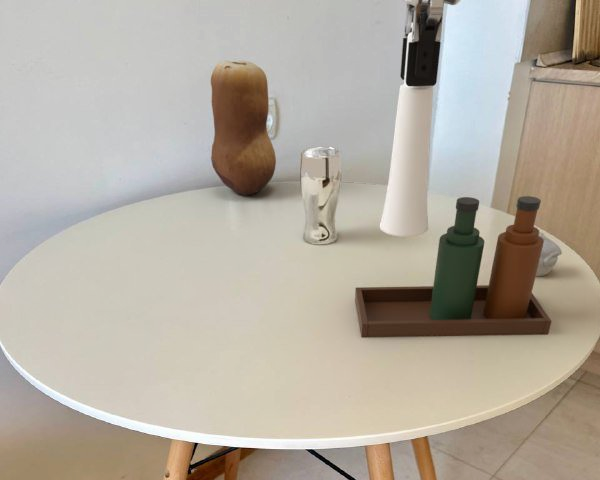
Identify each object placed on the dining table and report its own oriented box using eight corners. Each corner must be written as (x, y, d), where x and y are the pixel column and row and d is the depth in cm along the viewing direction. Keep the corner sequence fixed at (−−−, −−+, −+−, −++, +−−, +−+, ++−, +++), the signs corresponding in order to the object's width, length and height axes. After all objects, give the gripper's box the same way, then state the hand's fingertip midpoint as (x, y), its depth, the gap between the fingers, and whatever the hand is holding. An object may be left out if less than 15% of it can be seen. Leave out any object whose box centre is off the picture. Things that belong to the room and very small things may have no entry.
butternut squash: (289, 190, 130) (285, 59, 115) (247, 206, 121) (238, 68, 106) (243, 178, 137) (234, 54, 122) (201, 193, 129) (185, 62, 114)
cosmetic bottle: (388, 217, 78) (403, 18, 64) (433, 223, 75) (458, 19, 62) (372, 233, 73) (384, 24, 60) (419, 240, 71) (443, 25, 58)
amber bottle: (518, 305, 84) (544, 191, 75) (530, 324, 80) (560, 206, 70) (479, 305, 84) (500, 192, 75) (489, 325, 80) (513, 207, 70)
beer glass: (322, 248, 103) (322, 159, 94) (293, 239, 107) (291, 152, 98) (347, 237, 107) (350, 150, 98) (318, 228, 111) (318, 143, 102)
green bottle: (465, 306, 84) (485, 192, 75) (475, 325, 80) (497, 207, 70) (426, 306, 84) (440, 193, 75) (433, 326, 80) (450, 208, 70)
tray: (522, 301, 87) (526, 284, 85) (546, 339, 78) (552, 320, 76) (354, 304, 87) (355, 287, 85) (361, 342, 78) (362, 323, 77)
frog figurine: (508, 265, 97) (517, 224, 92) (554, 270, 95) (565, 227, 91) (508, 281, 92) (518, 238, 88) (556, 286, 90) (568, 242, 86)
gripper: (505, -161, 47) (469, 96, 58) (459, -135, 60) (437, 70, 71) (410, -158, 47) (393, 97, 58) (385, -134, 60) (375, 71, 71)
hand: (417, 80), depth 64 cm, fingers closed on cosmetic bottle, 3 cm apart
